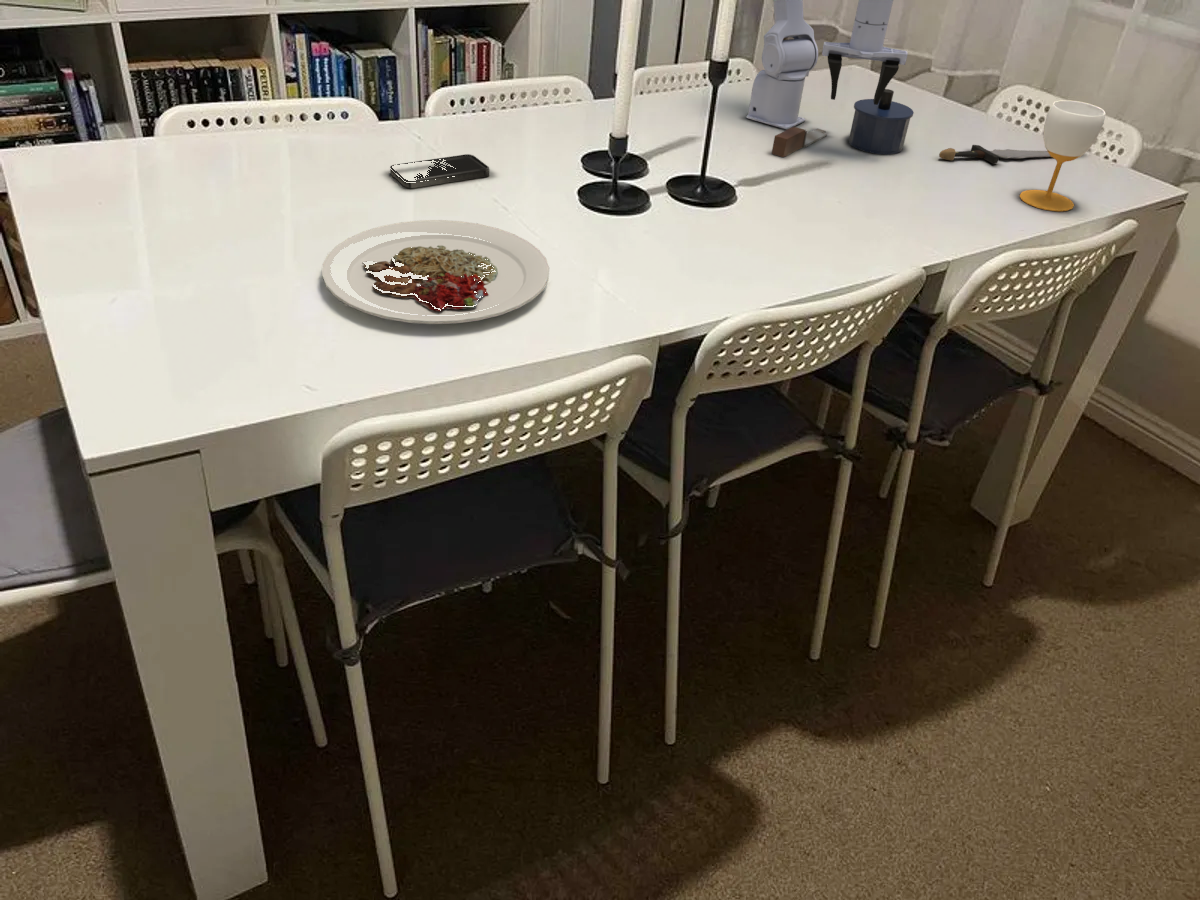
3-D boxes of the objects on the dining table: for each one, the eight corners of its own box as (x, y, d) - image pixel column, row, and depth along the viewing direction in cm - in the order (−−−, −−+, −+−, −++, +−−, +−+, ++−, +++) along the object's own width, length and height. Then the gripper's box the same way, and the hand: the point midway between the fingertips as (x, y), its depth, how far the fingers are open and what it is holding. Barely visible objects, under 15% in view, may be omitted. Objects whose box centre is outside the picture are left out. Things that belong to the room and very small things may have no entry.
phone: (491, 169, 163) (406, 182, 156) (491, 175, 164) (407, 189, 157) (470, 153, 168) (387, 165, 162) (470, 159, 169) (388, 171, 162)
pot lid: (843, 113, 185) (848, 89, 182) (867, 100, 192) (872, 78, 190) (898, 127, 180) (903, 104, 177) (921, 114, 187) (927, 91, 185)
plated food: (442, 214, 150) (441, 193, 148) (593, 281, 136) (595, 258, 134) (276, 276, 131) (272, 252, 129) (432, 361, 116) (431, 336, 114)
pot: (839, 144, 188) (846, 110, 185) (862, 131, 195) (869, 98, 191) (889, 158, 184) (897, 123, 180) (910, 145, 191) (919, 111, 187)
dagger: (927, 150, 189) (929, 139, 188) (1080, 153, 193) (1084, 142, 192) (943, 165, 183) (946, 154, 182) (1101, 167, 187) (1105, 156, 186)
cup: (1019, 187, 176) (1049, 96, 166) (1072, 197, 174) (1106, 105, 164) (1019, 205, 169) (1050, 111, 159) (1074, 215, 167) (1110, 120, 157)
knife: (784, 157, 180) (787, 139, 178) (770, 153, 182) (773, 135, 180) (830, 134, 193) (834, 116, 191) (816, 130, 194) (820, 112, 192)
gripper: (829, 21, 168) (814, 102, 176) (916, 31, 167) (896, 112, 175) (828, 12, 174) (813, 90, 182) (912, 21, 173) (893, 100, 181)
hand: (854, 100), depth 179 cm, fingers open, 7 cm apart
